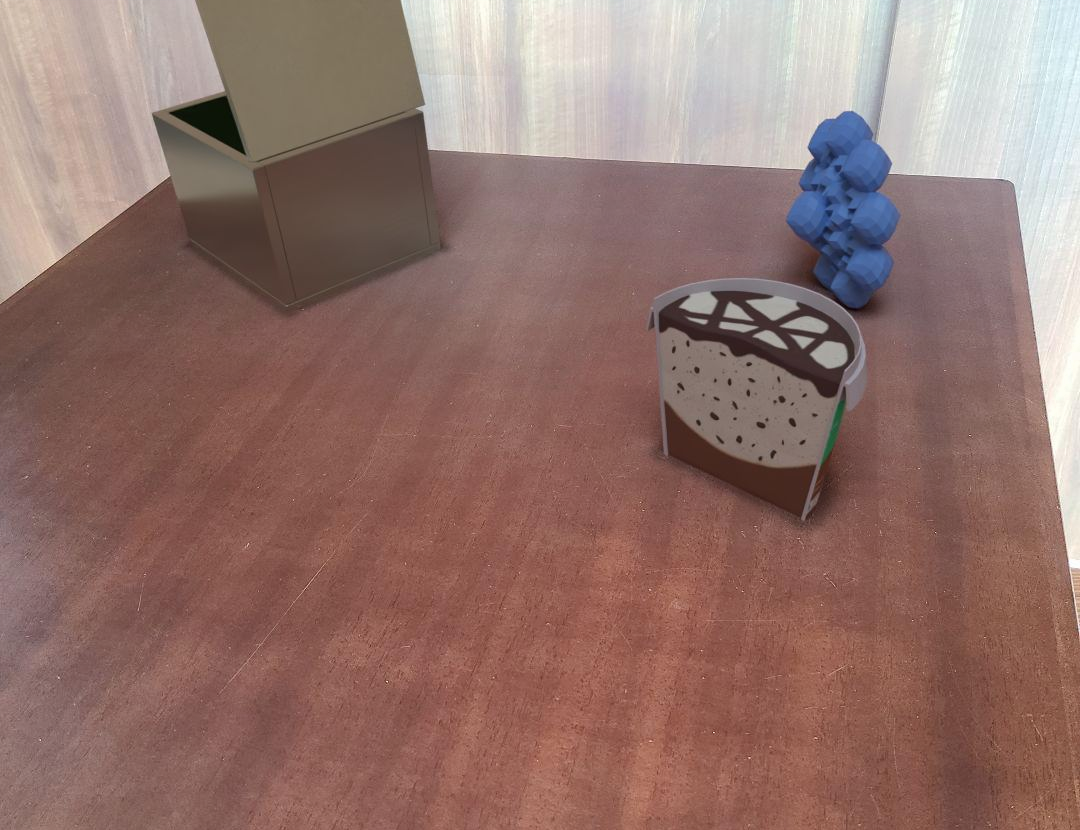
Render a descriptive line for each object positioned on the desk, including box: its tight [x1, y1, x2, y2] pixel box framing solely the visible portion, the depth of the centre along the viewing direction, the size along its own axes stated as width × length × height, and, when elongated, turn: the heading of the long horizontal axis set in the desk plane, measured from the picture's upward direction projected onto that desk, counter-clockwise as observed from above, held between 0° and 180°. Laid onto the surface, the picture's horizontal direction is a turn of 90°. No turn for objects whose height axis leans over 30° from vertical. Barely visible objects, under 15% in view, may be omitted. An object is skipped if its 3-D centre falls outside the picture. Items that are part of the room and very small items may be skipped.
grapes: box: [785, 110, 901, 309], centre depth 69 cm, size 12×7×12 cm, turn 12°
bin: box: [151, 90, 442, 314], centre depth 79 cm, size 16×14×11 cm
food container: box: [645, 277, 868, 522], centre depth 56 cm, size 12×6×10 cm, turn 47°
